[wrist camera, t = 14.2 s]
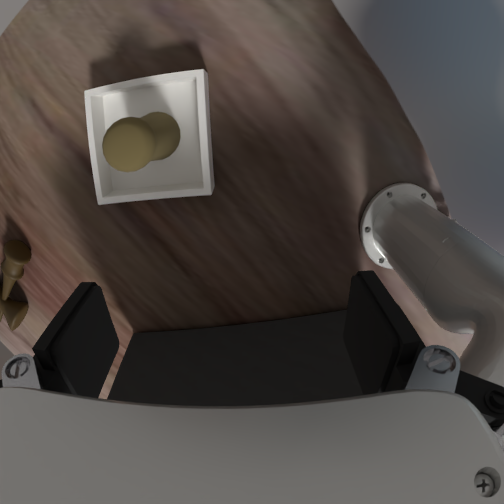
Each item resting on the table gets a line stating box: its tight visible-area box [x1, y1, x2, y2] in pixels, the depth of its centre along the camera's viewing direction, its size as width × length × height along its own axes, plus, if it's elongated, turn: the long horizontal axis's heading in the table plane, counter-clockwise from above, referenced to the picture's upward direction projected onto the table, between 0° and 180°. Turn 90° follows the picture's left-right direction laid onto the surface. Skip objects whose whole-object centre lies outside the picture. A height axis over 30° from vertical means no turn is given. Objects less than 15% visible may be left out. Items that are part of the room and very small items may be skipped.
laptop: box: [107, 310, 363, 406], centre depth 40 cm, size 37×27×27 cm
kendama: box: [0, 240, 31, 331], centre depth 40 cm, size 6×10×20 cm
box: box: [85, 69, 215, 205], centre depth 33 cm, size 14×14×4 cm
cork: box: [102, 112, 181, 172], centre depth 29 cm, size 6×6×11 cm
